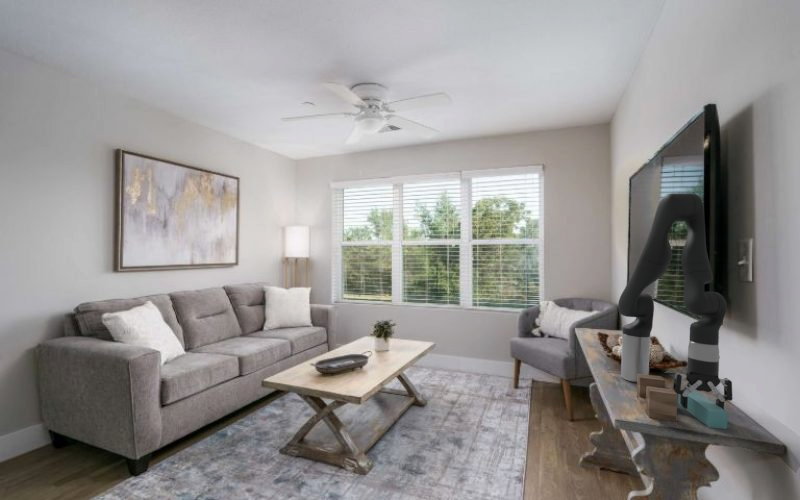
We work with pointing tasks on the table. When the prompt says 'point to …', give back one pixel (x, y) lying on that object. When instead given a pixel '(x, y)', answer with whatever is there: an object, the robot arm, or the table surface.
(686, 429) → the table surface
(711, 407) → the glasses case
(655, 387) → the wooden block pair
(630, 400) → the table surface
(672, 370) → the smartphone
